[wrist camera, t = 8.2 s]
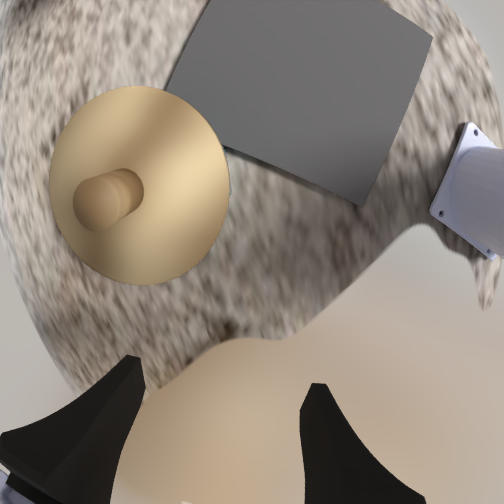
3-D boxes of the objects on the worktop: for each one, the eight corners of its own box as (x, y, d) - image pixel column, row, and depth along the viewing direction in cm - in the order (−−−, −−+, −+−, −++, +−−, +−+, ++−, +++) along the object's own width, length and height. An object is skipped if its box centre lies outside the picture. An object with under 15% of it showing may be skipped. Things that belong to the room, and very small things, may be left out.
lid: (266, 131, 13) (267, 128, 9) (187, 306, 17) (170, 347, 13) (87, 70, 11) (46, 61, 8) (46, 235, 16) (11, 258, 12)
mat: (429, 38, 12) (433, 37, 12) (358, 205, 18) (361, 207, 17) (243, -45, 11) (243, -49, 10) (157, 121, 16) (153, 121, 15)
